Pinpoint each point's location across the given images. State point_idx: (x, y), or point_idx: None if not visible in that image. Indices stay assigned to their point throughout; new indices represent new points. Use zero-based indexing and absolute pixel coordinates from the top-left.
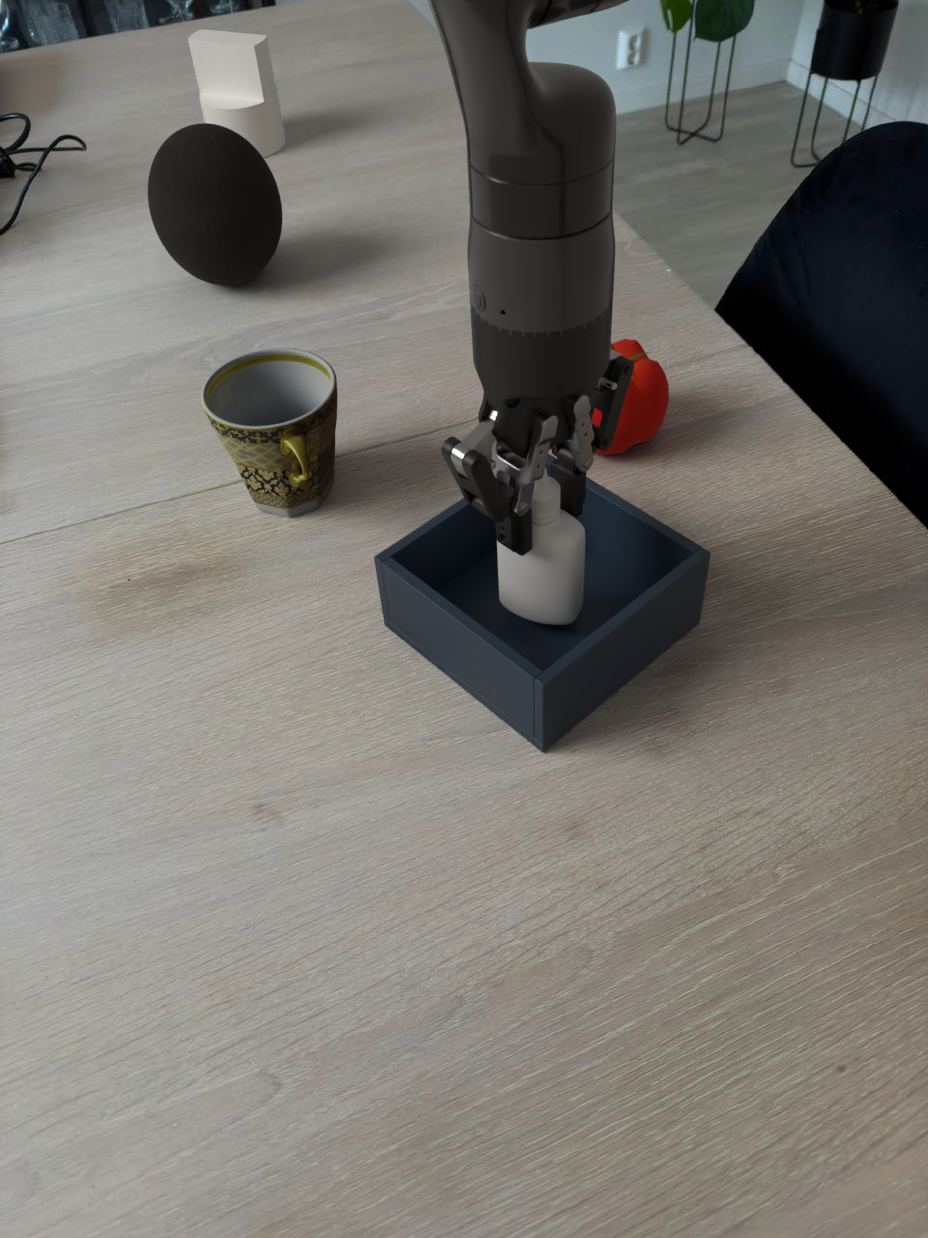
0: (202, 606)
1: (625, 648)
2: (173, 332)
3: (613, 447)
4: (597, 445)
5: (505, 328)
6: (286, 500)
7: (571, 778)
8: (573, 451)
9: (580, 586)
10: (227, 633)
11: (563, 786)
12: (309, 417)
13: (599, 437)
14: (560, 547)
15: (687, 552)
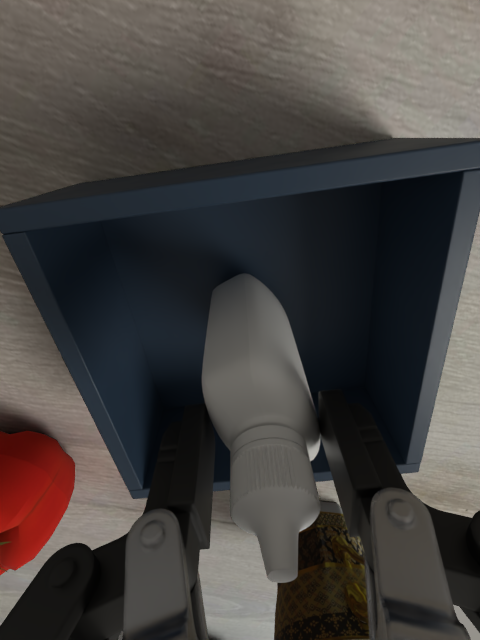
0: (455, 471)
1: (241, 166)
2: (274, 629)
3: (35, 442)
4: (96, 575)
5: None
6: (344, 523)
7: (403, 72)
8: (191, 616)
9: (226, 302)
10: (466, 444)
11: (421, 67)
12: (348, 636)
13: (79, 607)
14: (274, 368)
15: (36, 243)
